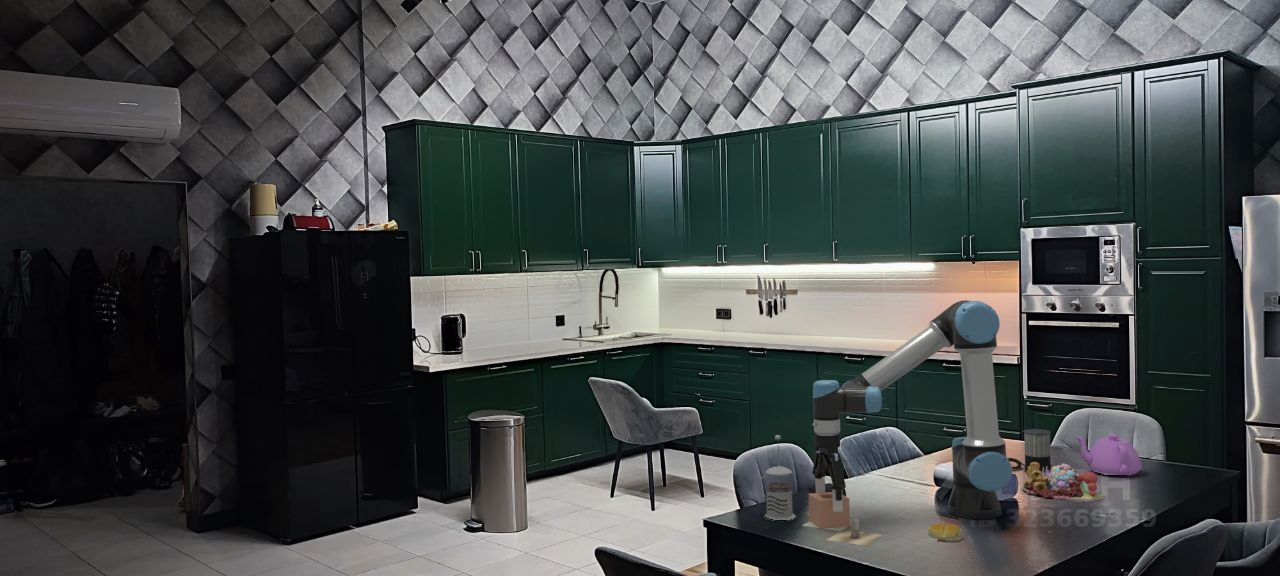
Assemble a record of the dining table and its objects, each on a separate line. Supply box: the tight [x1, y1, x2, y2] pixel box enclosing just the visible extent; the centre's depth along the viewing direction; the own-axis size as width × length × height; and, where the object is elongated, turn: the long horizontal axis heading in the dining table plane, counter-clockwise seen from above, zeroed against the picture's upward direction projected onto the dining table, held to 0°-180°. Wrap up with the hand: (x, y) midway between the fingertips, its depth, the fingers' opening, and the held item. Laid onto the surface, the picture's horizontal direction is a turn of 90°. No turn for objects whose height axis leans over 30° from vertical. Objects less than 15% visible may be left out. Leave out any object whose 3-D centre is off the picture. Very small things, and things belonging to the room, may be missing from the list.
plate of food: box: [1021, 462, 1106, 502], centre depth 300 cm, size 25×24×9 cm
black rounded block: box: [807, 482, 847, 497], centre depth 291 cm, size 10×7×7 cm
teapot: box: [1073, 433, 1142, 475], centre depth 325 cm, size 22×22×14 cm
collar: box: [808, 492, 851, 530], centre depth 268 cm, size 9×9×8 cm
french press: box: [757, 434, 797, 521], centre depth 280 cm, size 10×12×25 cm
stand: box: [825, 517, 885, 547], centre depth 253 cm, size 12×12×6 cm
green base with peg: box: [801, 520, 850, 532], centre depth 268 cm, size 12×12×7 cm
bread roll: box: [928, 522, 964, 543], centre depth 252 cm, size 8×9×4 cm
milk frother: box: [1007, 428, 1052, 473], centre depth 333 cm, size 14×16×15 cm
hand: (829, 505), depth 268 cm, fingers open, 13 cm apart
